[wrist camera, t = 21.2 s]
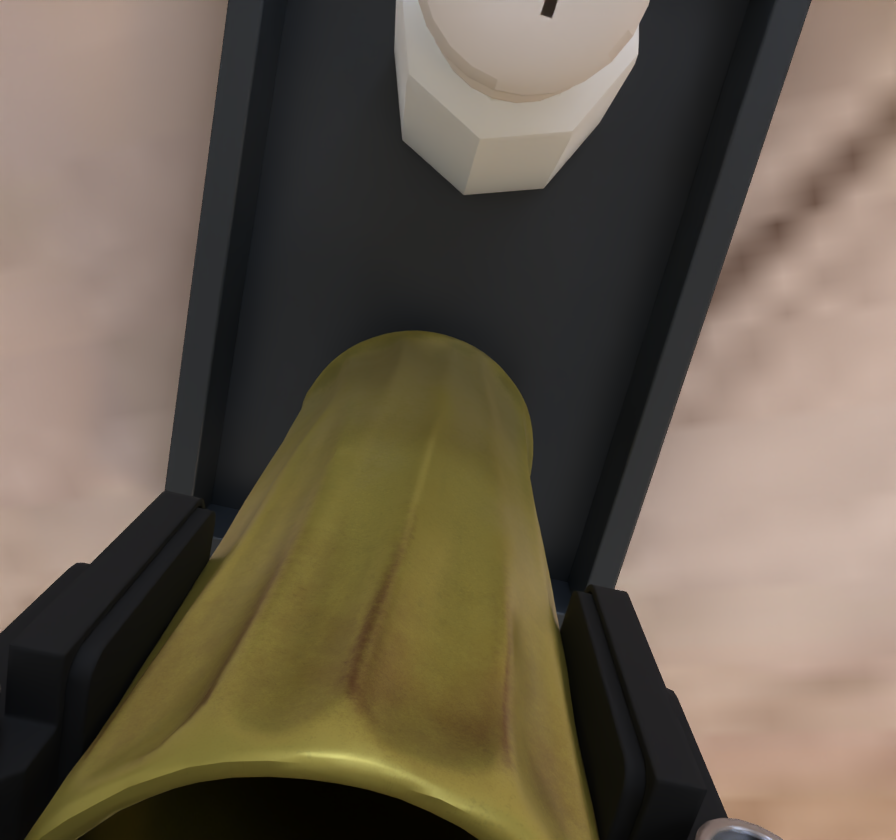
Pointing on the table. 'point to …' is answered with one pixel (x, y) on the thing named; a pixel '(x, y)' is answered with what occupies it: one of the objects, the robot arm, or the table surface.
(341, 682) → the vase
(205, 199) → the tray
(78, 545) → the table surface
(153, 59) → the table surface
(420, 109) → the salt shaker
